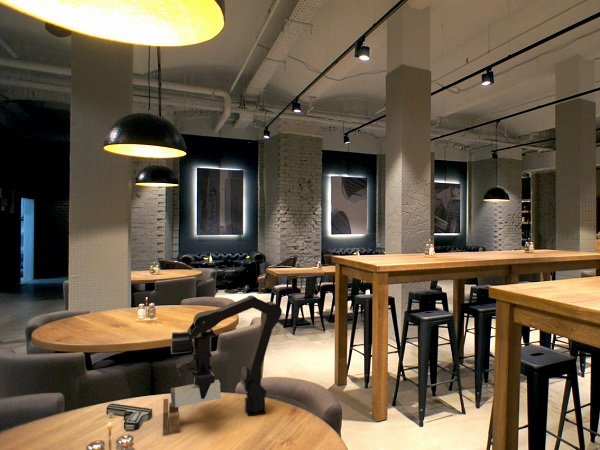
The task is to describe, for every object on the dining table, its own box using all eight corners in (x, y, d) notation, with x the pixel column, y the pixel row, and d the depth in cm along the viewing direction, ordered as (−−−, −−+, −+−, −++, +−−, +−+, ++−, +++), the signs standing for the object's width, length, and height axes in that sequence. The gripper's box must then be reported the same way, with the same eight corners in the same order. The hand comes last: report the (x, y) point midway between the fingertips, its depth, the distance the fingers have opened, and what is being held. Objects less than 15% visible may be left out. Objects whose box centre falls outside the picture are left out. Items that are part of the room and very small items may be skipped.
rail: (219, 393, 131) (218, 379, 131) (220, 398, 127) (220, 383, 128) (171, 403, 126) (170, 388, 126) (171, 408, 122) (170, 392, 122)
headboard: (178, 417, 130) (178, 397, 130) (179, 432, 119) (179, 410, 120) (163, 419, 128) (163, 399, 128) (162, 435, 118) (163, 413, 118)
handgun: (133, 425, 119) (157, 408, 131) (85, 417, 124) (112, 402, 136) (133, 434, 119) (157, 416, 131) (85, 426, 124) (112, 410, 136)
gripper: (177, 345, 134) (176, 389, 133) (178, 361, 117) (178, 411, 116) (208, 342, 138) (208, 385, 137) (214, 357, 120) (214, 406, 120)
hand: (202, 396), depth 127 cm, fingers closed on rail, 4 cm apart
